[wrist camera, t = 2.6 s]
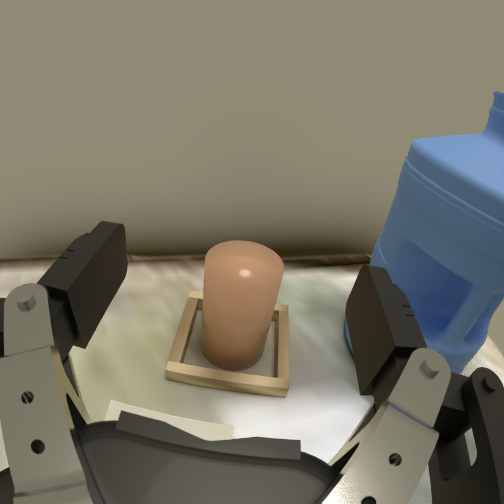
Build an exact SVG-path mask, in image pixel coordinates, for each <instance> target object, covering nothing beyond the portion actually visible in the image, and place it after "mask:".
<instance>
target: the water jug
mask: <svg viewBox="0 0 504 504" xmlns="http://www.w3.org/2000/svg"><path fill="white" fill-rule="evenodd" d="M493 95H494V102H493V106H492V107H491V108H490V111H489V119H488V123H487V126H486V128H485V130H484V131H483V132H481V133H479V134H468V135H453V136H441V137H429V138H419V139H416V140H414V141H413V142H412V143H411V146H410V149H409V152H408V156H407V157H406V158H405V161H404V163H403V167H402V170H401V173H400V177H399V181H398V188H397V191H396V194H395V197H394V200H393V203H392V206H391V209H390V212H389V215H388V217H387V220H386V223H385V226H384V228H383V231H382V233H381V234H380V236H379V238H378V240H377V243H376V246H375V248H374V251H373V253H372V257H371V261H370V265H372V266H378V267H384V268H386V269H387V271H388V274H389V276H390V278H391V280H392V283H393V284H397V286H398V287H399V288H400V289H401V290H402V291H403V292H404V293H405V294H406V296H407V299H408V301H409V303H410V305H411V307H410V308H412V310H413V313H414V315H415V316H414V317H415V318H416V320H417V322H418V325H419V327H420V329H421V332H422V334H423V337H424V340H425V342H426V345H427V347H428V349H432V350H434V351H436V352H438V353H439V354H440V355H441V356H443V357H444V359H445V360H446V361H447V363H448V365H449V367H450V371H451V372H453V373H457V374H461V372H462V371H463V369H464V368H465V366H466V365H467V364H468V362H469V361H470V360H471V359H472V358H473V356H474V355H475V354H476V353H477V351H478V350H479V349H480V348H481V346H482V345H483V344H484V342H485V340H486V337H487V333H488V327H489V323H490V320H491V317H492V315H493V313H494V312H495V311H496V309H497V307H498V306H499V305H500V303H501V302H502V300H503V298H504V93H501V92H498V91H494V94H493ZM345 329H346V336H347V340H348V343H349V346H350V348H351V350H352V345H351V340H350V335H349V330H348V325H347V320H346V323H345ZM352 352H353V350H352Z"/></svg>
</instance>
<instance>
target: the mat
mask: <svg viewBox="0 0 504 504" xmlns="http://www.w3.org/2000/svg"><path fill="white" fill-rule="evenodd" d="M121 410H123V411H126V412H130V413H134V414H137V415H141V416H145V417H149V418H153V419H157V420H161V421H164V422H166V423H168V424H170V425H173V426H175V427H177V428H179V429H181V430H183V431H186V432H188V433H190V434H192V435H195V436H197V437H199V438H202V439H204V440H209V441H216V440H229V439H232V434H233V426H230V425H223V424H216V423H210V422H204V421H198V420H193V419H188V418H183V417H178V416H173V415H168V414H164V413H160V412H155V411H151V410H147V409H143V408H139V407H135V406H132V405H128V404H124V403H121V402H117V401H114V400H111V402H110V405H109V407H108V410H107V413H106V416H105V418H104V421H110V420H118V418H119V415H120V412H121Z"/></svg>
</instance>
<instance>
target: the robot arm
mask: <svg viewBox="0 0 504 504" xmlns="http://www.w3.org/2000/svg"><path fill="white" fill-rule="evenodd" d="M127 266H128V261H127V251H126V237H125V228H124V226H123V224H119V223H113V222H107V221H101V222H100V223H99V224H98V225H97V226H96V227H95V228H94V229H93V230H92V231H91V233H86V234H84V235H82V236H80V237H79V238H77V239H75V240H74V241H73V242H72V243H71V244H70V246H68V248H67V249H66V251H64V252H63V253H62V254H61V255H60V258H58V259H57V260H56V261H55V262H54V263H53V265H52V266H51V267H50V268H49V269H48V270H47V272H46V273H45V274H44V275H43V276H42V278H41V279H40V280H39V281H38V282H37V284H34V283H29V284H24V285H21V286H19V287H17V288H15V289H14V290H12V291H11V292H10V293H9V295H8V296H7V298H0V420H1V427H2V433H3V439H4V444H5V450H6V454H7V459H8V463H9V467H8V468H6V469H4V470H3V471H1V472H0V504H408V502H409V500H410V498H411V497H412V495H413V493H414V491H415V489H416V487H417V485H418V483H419V481H420V479H421V477H422V475H423V473H424V470H425V468H426V466H427V464H428V466H429V474H430V482H431V492H432V504H504V387H503V384H502V382H501V380H500V379H499V377H498V376H497V375H496V374H495V373H494V372H493V371H491V370H490V369H488V368H484V367H480V368H477V369H476V370H475V371H474V372H473V373H472V374H471V375H470V376H469V377H466V376H463V375H460V374H457V373H453V372H451V371H450V367H449V365H448V363H447V361H446V360H445V359H444V357H443V356H441V355H440V354H439V353H438V352H436V351H434V350H432V349H428V347H427V345H426V342H425V340H424V337H423V334H422V332H421V329H420V327H419V325H418V322H417V320H416V318H415V317H414V316H415V315H414V313H413V310H412V308H410V307H411V305H410V303H409V301H408V299H407V296H406V294H405V293H404V292H403V291H402V290H401V289H400V288H399V287H398V286H397V284H393V283H392V280H391V278H390V276H389V274H388V271H387V269H386V268H384V267H378V266H372V265H366V264H365V265H363V266H362V268H361V269H360V272H359V274H358V277H357V279H356V281H355V284H354V286H353V288H352V291H351V293H350V295H349V298H348V300H347V304H346V320H347V325H348V330H349V335H350V340H351V345H352V350H353V356H354V361H355V367H356V372H357V378H358V384H359V390H360V395H373V397H374V403H373V404H372V405H371V406H370V408H369V409H368V411H367V412H366V414H365V415H364V417H363V418H362V420H361V421H360V423H359V424H358V426H357V427H356V429H355V430H354V431H353V433H352V434H351V436H350V437H349V439H348V440H347V441H346V443H345V444H344V445H343V447H342V448H341V449H340V450H339V452H338V453H337V454H336V455H335V456H334V457H333V458H332V459H331V461H330V462H329V463H328V464H327V463H326V462H324V461H322V460H321V459H319V458H317V457H315V456H312V455H310V454H308V453H305V452H301V442H300V440H288V439H275V438H264V437H250V438H240V439H229V440H216V441H209V440H204V439H202V438H199V437H197V436H195V435H192V434H190V433H188V432H186V431H183V430H181V429H179V428H177V427H175V426H173V425H170V424H168V423H166V422H164V421H161V420H157V419H153V418H149V417H145V416H141V415H137V414H134V413H130V412H126V411H123V410H121V412H120V415H119V418H118V420H110V421H100V422H94V423H92V422H91V419H90V417H89V415H88V413H87V411H86V408H85V406H84V403H83V400H82V396H81V393H80V390H79V386H78V383H77V379H76V375H75V371H74V368H73V364H72V359H71V356H70V353H69V352H70V350H71V348H72V346H73V345H74V346H77V347H80V348H84V349H86V347H87V345H88V343H89V341H90V339H91V337H92V335H93V334H94V332H95V330H96V328H97V326H98V324H99V323H100V321H101V319H102V317H103V315H104V314H105V312H106V310H107V308H108V306H109V305H110V303H111V301H112V299H113V298H114V296H115V294H116V293H117V291H118V289H119V287H120V286H121V284H122V282H123V281H124V279H125V276H126V273H127ZM470 428H472V431H473V435H474V439H475V444H476V448H477V458H476V461H475V463H474V464H473V465H472V466H471V465H470V459H469V454H468V449H467V444H466V440H465V435H464V433H465V432H467V431H468V430H469V429H470Z"/></svg>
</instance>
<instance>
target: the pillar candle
mask: <svg viewBox="0 0 504 504" xmlns="http://www.w3.org/2000/svg"><path fill="white" fill-rule="evenodd" d="M283 272H284V265H283V262H282V260H281V258H280V257H279V256H278V255H277V254H276V253H275V252H274V251H272V250H271V249H269V248H267V247H265V246H263V245H260V244H258V243H254V242H249V241H228V242H224V243H220V244H218V245H216V246H214V247H213V248H211V249H210V250H209V251H208V253H207V254H206V257H205V270H204V288H203V310H202V336H201V347H202V351H203V354H204V355H205V357H206V358H207V359H208V360H209V361H210V362H211V363H212V364H214V365H215V366H217V367H219V368H222V369H226V370H233V371H236V370H243V369H247V368H249V367H251V366H253V365H254V364H256V363H257V362H258V361H259V360H260V358H261V356H262V353H263V350H264V346H265V342H266V339H267V335H268V331H269V327H270V323H271V319H272V316H273V312H274V308H275V304H276V300H277V296H278V292H279V288H280V284H281V280H282V276H283Z"/></svg>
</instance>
